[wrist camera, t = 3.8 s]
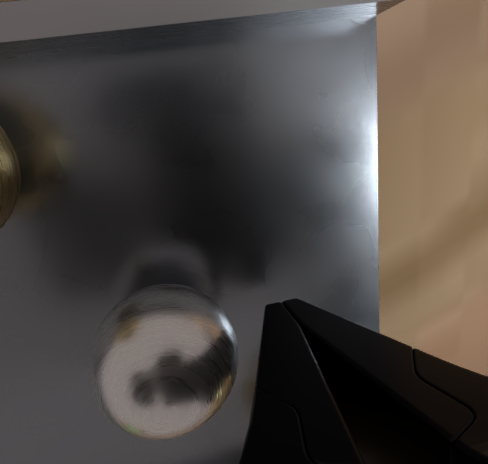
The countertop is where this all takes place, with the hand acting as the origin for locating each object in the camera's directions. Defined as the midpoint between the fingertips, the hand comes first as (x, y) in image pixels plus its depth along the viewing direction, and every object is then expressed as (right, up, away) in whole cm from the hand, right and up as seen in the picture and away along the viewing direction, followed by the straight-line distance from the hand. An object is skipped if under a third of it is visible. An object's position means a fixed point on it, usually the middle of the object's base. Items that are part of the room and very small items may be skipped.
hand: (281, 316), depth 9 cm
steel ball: (-3, -1, -1) cm, 3 cm away
